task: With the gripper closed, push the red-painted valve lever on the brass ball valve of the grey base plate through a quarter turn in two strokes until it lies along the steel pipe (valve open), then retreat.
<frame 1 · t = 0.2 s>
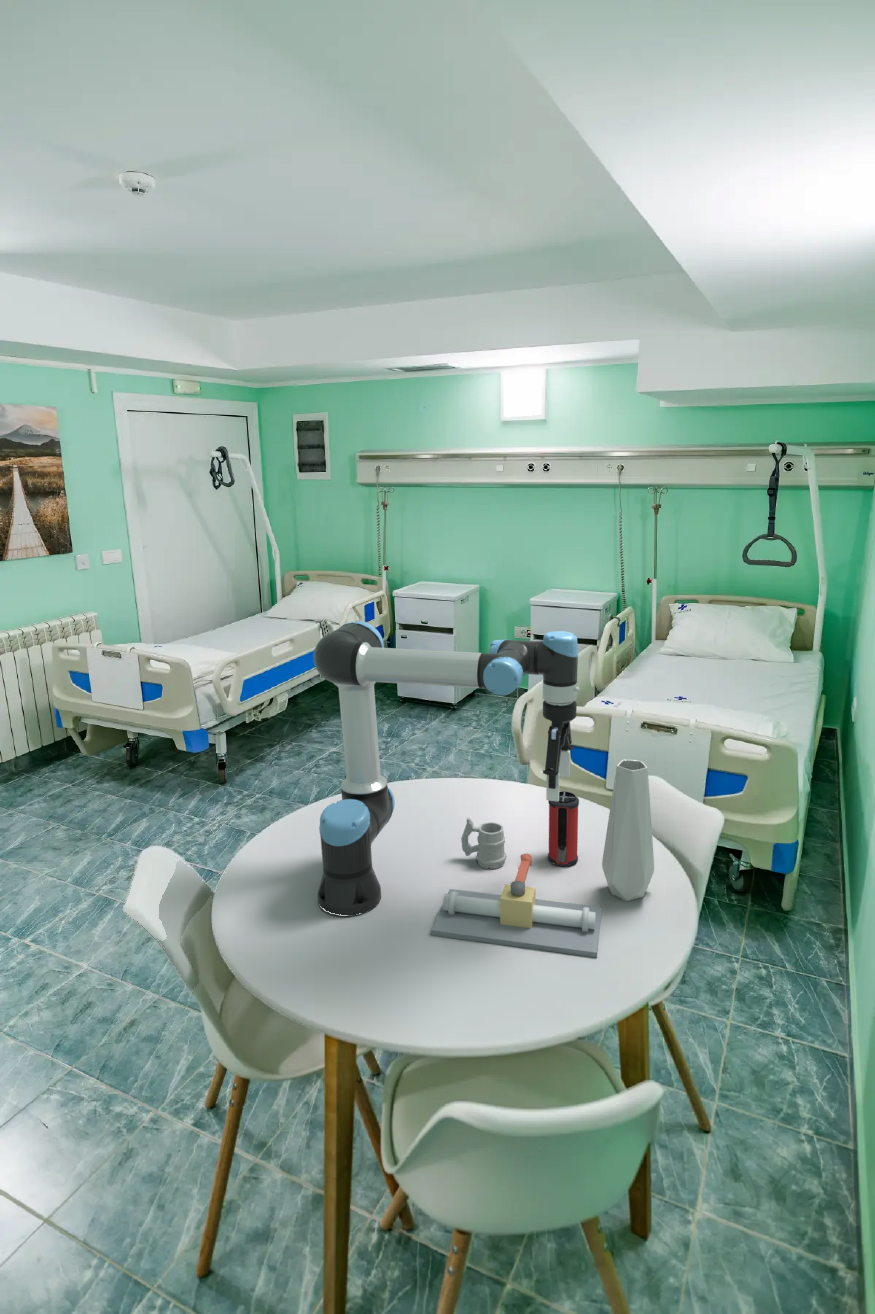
hand: (558, 788, 175), 27 cm above the table, fingers open, 13 cm apart
vase: (624, 892, 181), on the table
mug: (483, 862, 197), on the table
grey base plate: (518, 923, 170), on the table
speaker: (562, 860, 197), on the table
lever: (522, 874, 174), point 9 cm above the table, hinge at 90.0°
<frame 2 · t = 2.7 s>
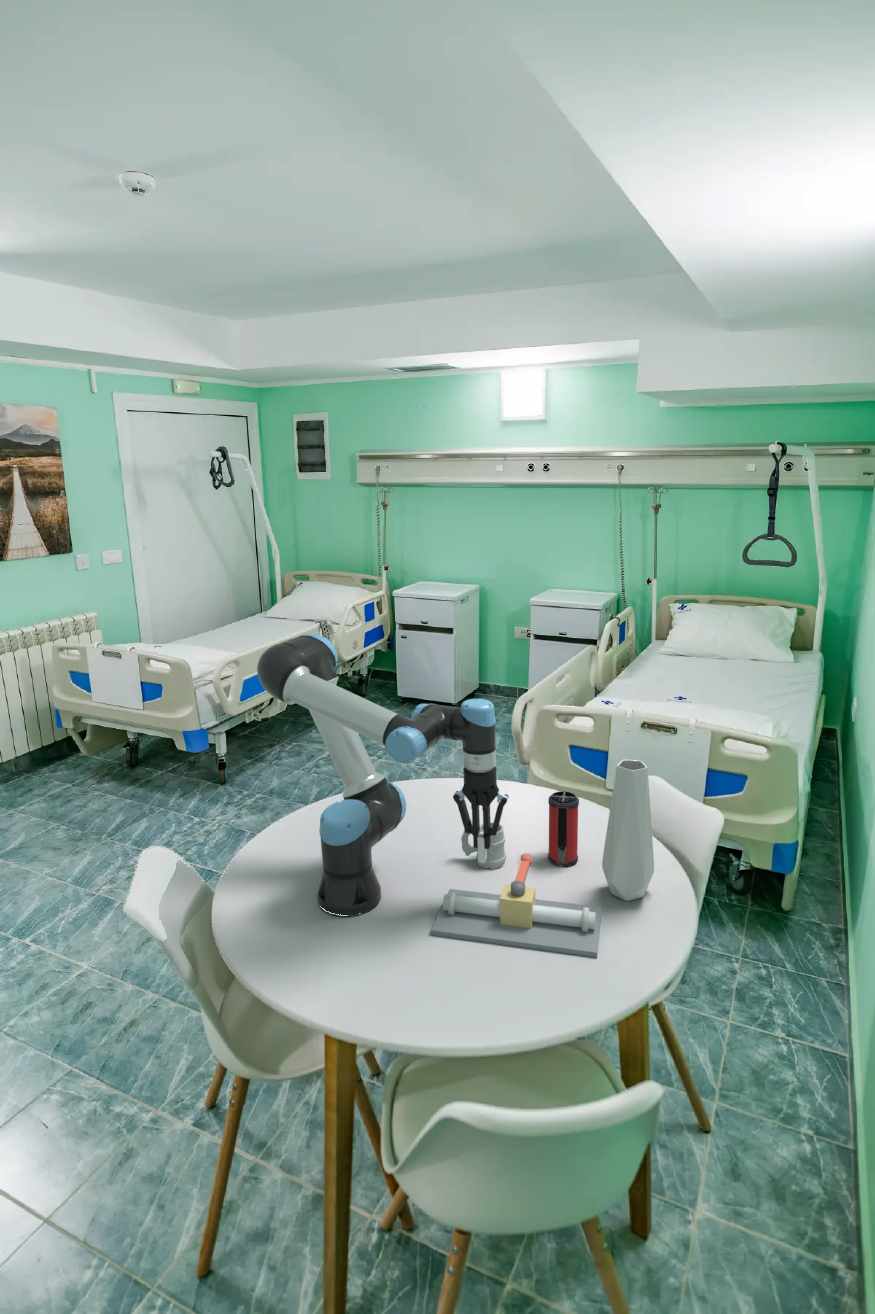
hand: (482, 860, 178), 10 cm above the table, fingers closed
nothing on the table moved.
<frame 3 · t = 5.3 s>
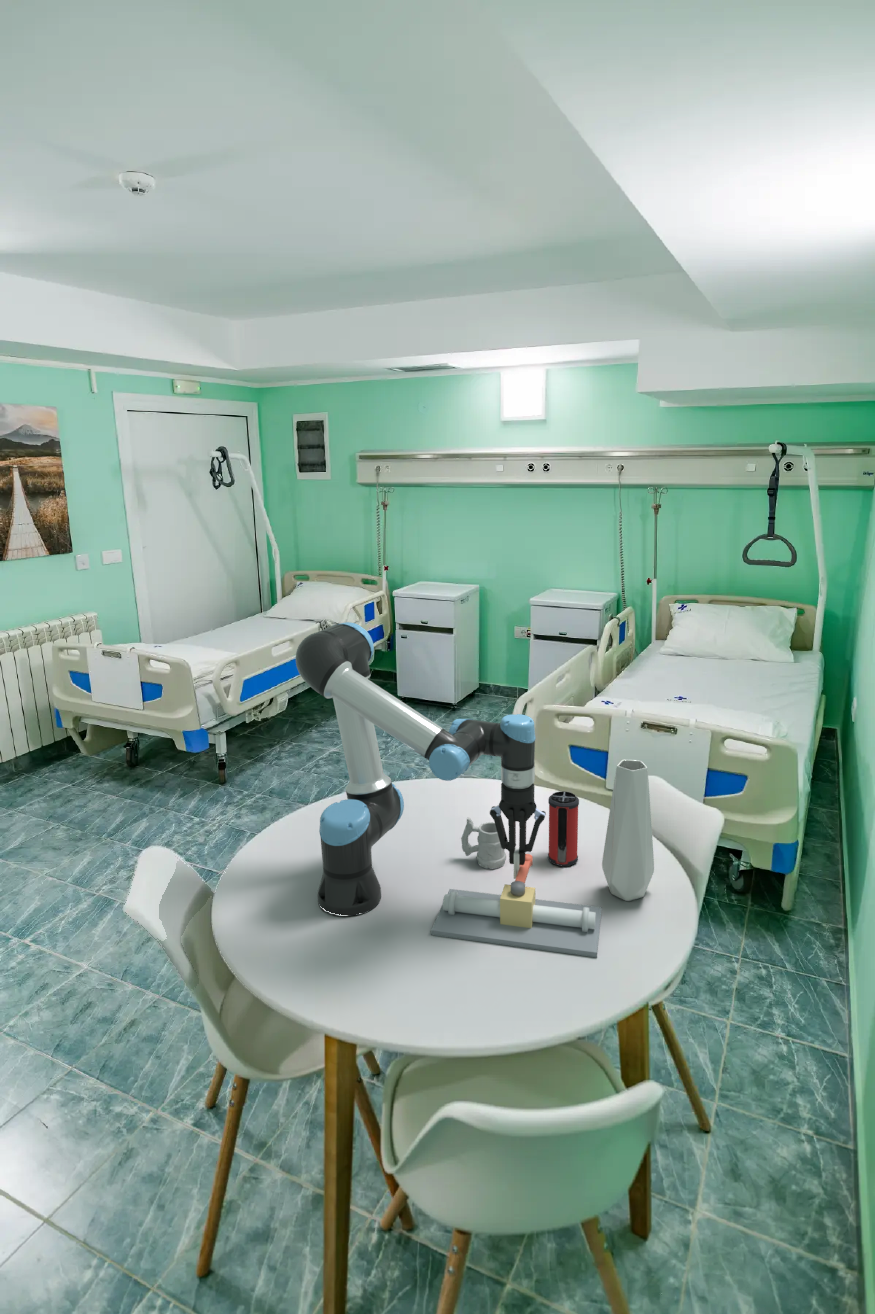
hand: (517, 875, 176), 7 cm above the table, fingers closed
lever: (522, 874, 174), point 9 cm above the table, hinge at 89.0°, touching gripper
everything else where it was.
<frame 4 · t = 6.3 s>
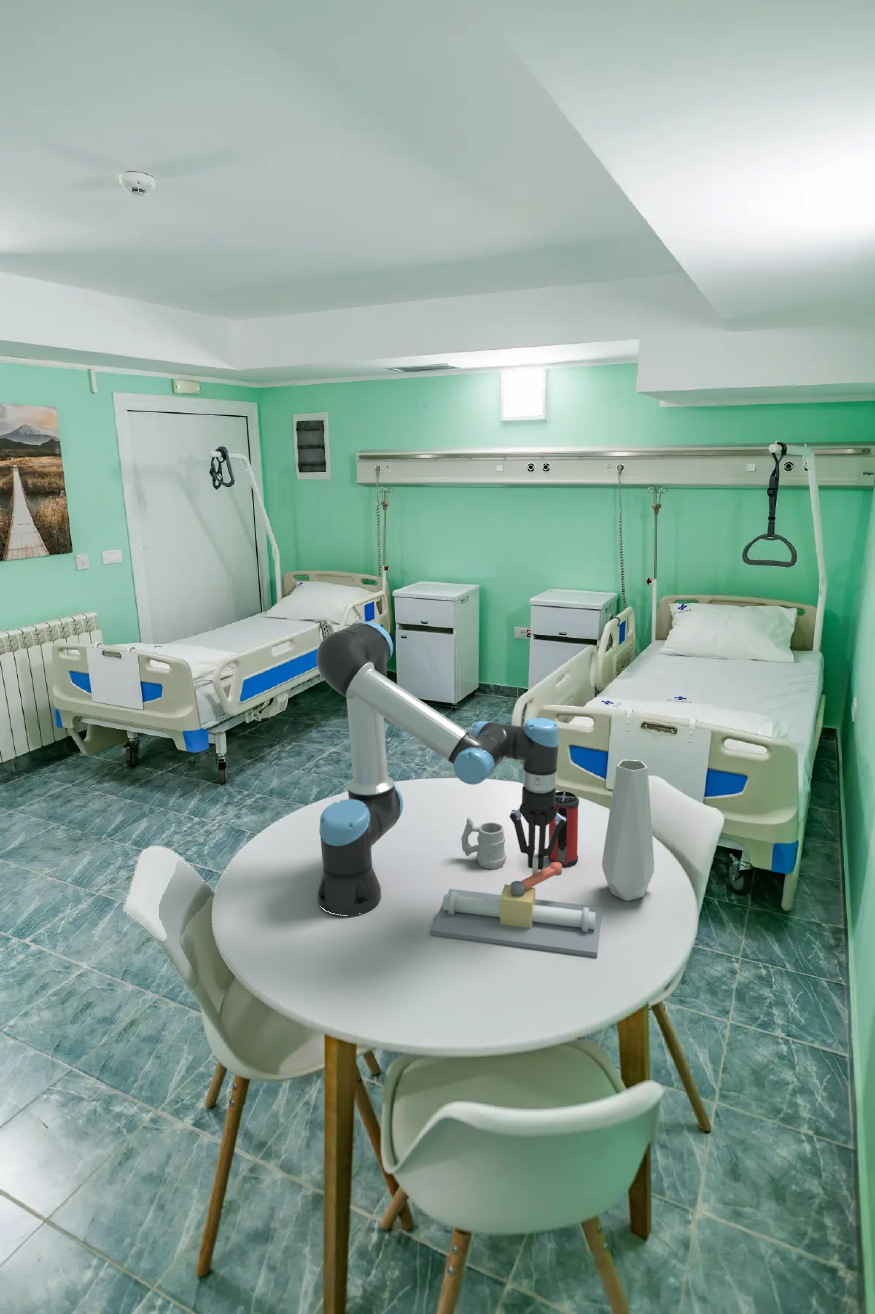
hand: (535, 880, 175), 7 cm above the table, fingers closed
lever: (537, 878, 172), point 9 cm above the table, hinge at 53.8°, touching gripper
everything else where it was.
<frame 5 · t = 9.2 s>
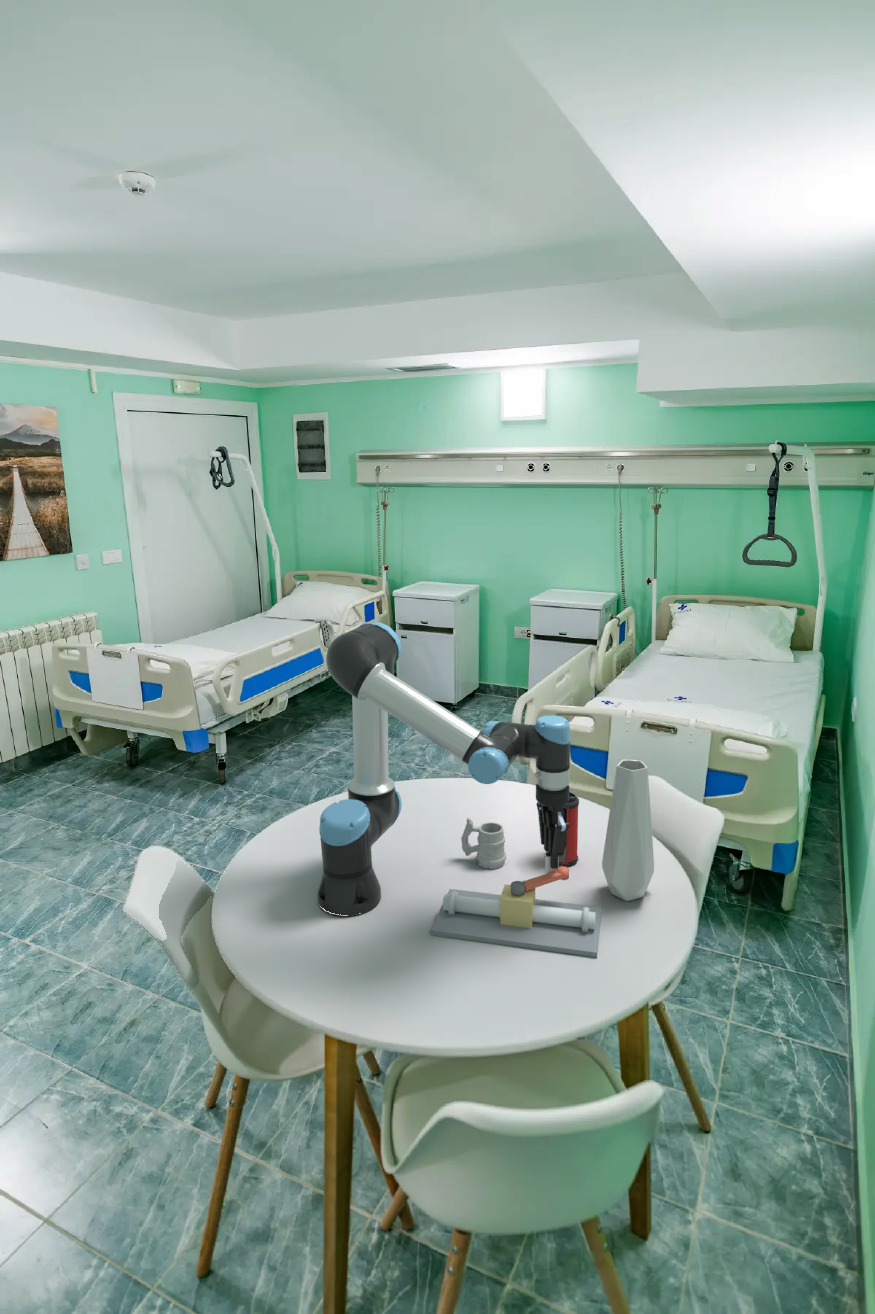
hand: (551, 877, 175), 7 cm above the table, fingers closed
lever: (540, 880, 171), point 9 cm above the table, hinge at 42.8°, touching gripper
everything else where it was.
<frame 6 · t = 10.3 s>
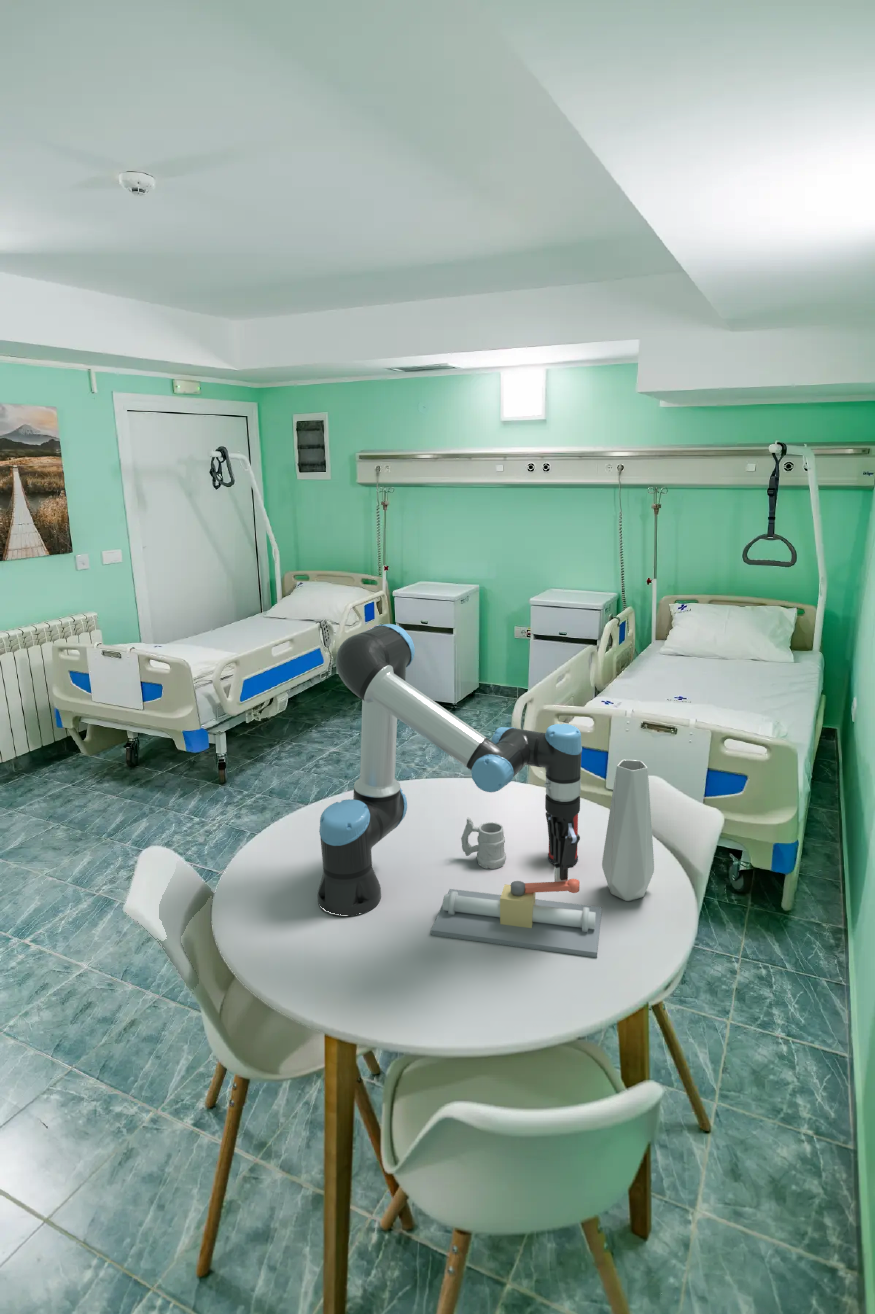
hand: (561, 889, 171), 7 cm above the table, fingers closed
lever: (545, 887, 168), point 9 cm above the table, hinge at 17.0°, touching gripper
everything else where it was.
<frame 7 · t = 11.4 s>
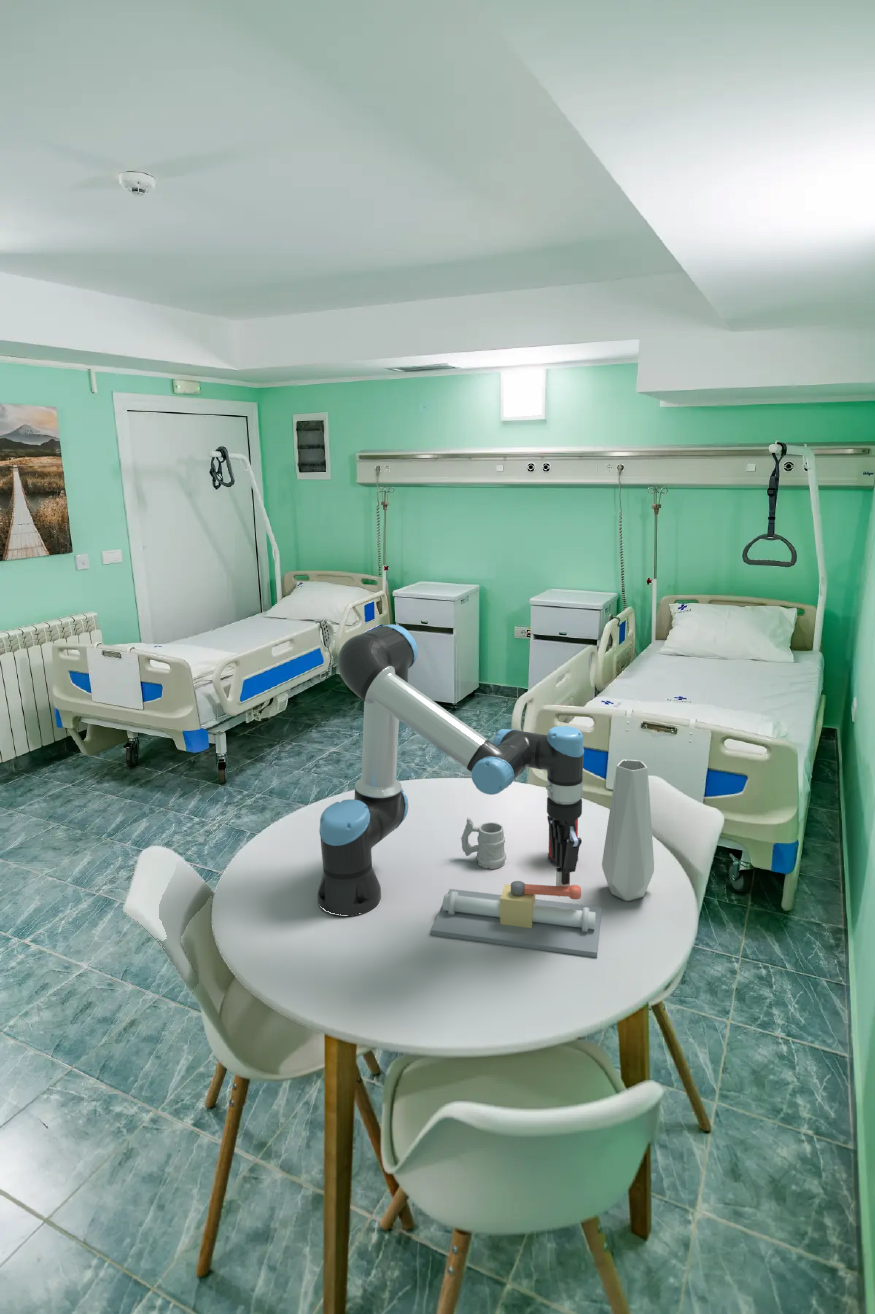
hand: (562, 893, 169), 7 cm above the table, fingers closed
lever: (545, 890, 167), point 9 cm above the table, hinge at 5.3°, touching gripper
everything else where it was.
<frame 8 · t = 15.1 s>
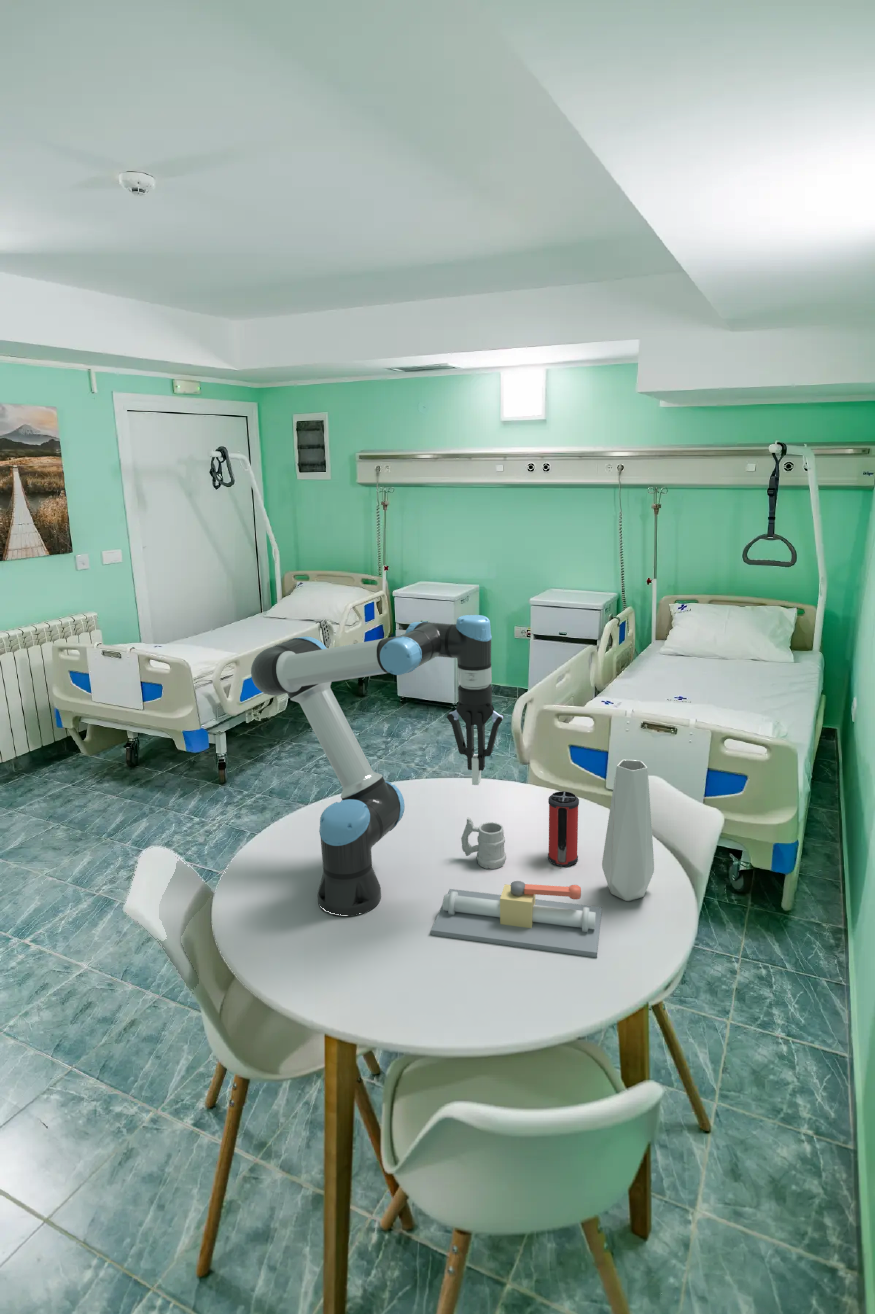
hand: (476, 782, 174), 29 cm above the table, fingers closed
lever: (545, 890, 167), point 9 cm above the table, hinge at 5.3°
everything else where it was.
at the end: lever at +5° (first picture: +90°); lever touching nothing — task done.
